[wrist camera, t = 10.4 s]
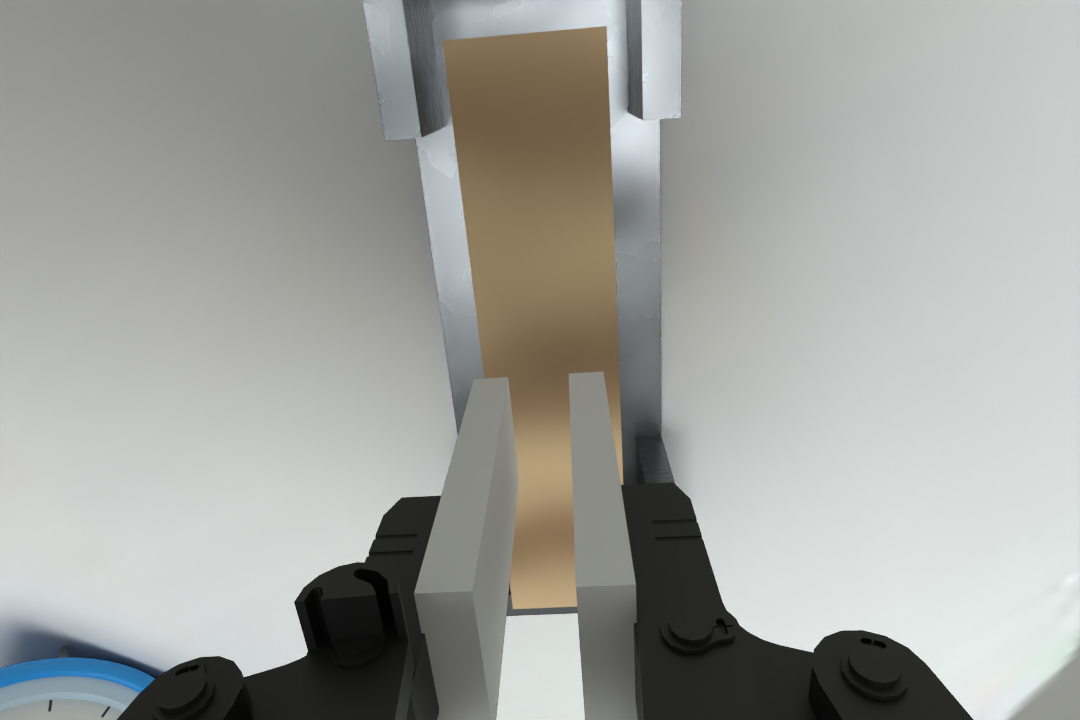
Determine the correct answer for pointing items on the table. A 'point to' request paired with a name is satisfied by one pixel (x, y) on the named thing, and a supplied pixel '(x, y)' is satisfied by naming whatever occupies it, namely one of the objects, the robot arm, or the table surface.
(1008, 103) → the table surface
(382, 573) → the robot arm
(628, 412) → the gray cradle tray
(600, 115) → the long wooden block
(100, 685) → the alarm clock
